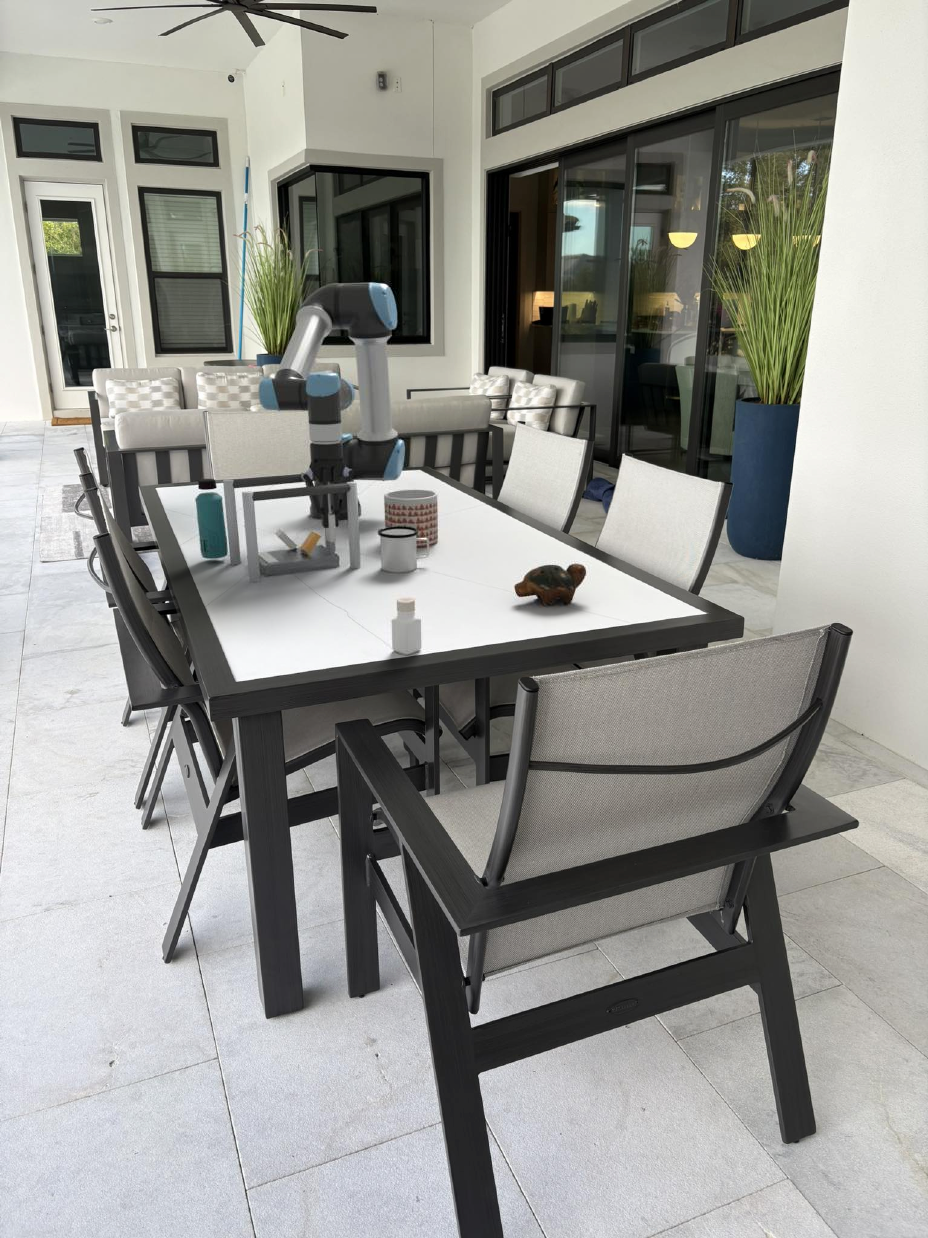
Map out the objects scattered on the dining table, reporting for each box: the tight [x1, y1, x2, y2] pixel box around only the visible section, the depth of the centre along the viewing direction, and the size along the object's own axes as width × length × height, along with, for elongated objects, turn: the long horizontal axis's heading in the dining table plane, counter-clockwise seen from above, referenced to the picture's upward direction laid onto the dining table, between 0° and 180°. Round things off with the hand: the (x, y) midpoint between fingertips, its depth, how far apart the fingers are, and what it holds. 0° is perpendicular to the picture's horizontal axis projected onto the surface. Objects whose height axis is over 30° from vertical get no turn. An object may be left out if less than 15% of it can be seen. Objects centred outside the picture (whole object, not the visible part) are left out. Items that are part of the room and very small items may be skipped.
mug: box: [377, 526, 430, 574], centre depth 209 cm, size 12×10×9 cm
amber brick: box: [299, 530, 322, 555], centre depth 213 cm, size 2×3×6 cm
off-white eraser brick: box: [274, 528, 298, 550], centre depth 216 cm, size 2×3×6 cm
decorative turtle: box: [514, 563, 587, 607], centre depth 184 cm, size 10×15×8 cm, turn 107°
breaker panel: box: [258, 544, 340, 577], centre depth 212 cm, size 18×12×3 cm, turn 118°
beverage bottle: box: [194, 478, 229, 560], centre depth 213 cm, size 6×7×20 cm
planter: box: [383, 488, 439, 549], centre depth 232 cm, size 14×14×13 cm
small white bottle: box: [391, 596, 422, 656], centre depth 157 cm, size 4×4×10 cm
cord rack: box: [222, 473, 361, 583], centre depth 209 cm, size 26×19×20 cm
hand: (331, 540), depth 215 cm, fingers closed
